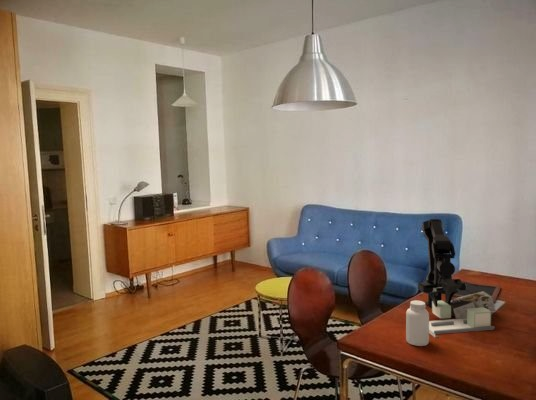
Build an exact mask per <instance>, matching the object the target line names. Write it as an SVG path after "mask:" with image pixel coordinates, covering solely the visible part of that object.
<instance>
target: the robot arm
mask: <svg viewBox="0 0 536 400" xmlns="http://www.w3.org/2000/svg"><path fill="white" fill-rule="evenodd" d="M421 231H422V233H423V236H424V238H425V239H426V241H427V253H428V267H429V268H428V269H429V272H428V274H427V275H426V279H425V280H424V281H422V282H418V284H417V290H419V292H420V291H421V292H422V293H425V294H427V301H424V302H425V304H426V306H428V307H429V308H431V309H432V301H433V303H434V305H435V307H437V301H440V300H442V301H443V299H442V294H443V295H445V296H444V298H445V299H444V300H445V301H444V302H445V303H447V304H449V303H450V301H451V299H453V298H454V297H453V295H454V294H455V293H457V292H459V291H457V288H458V289H459V290H466V284H465V283H464V282H465V281H463V282H462V280H461V279H460V278H453V277H452V275H454V273H455V271H456V267H455V264H454V263H452V262H451V259H455V256H456V250H455V246H454V244H453V242H452V241H451V239H450V237H448V236H446V235H445V232H444V230H443V221H442V220H441V219H440V218H430V219H428V220H425V221H423V222H422V224H421Z"/></svg>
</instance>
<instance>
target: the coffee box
mask: <svg viewBox="0 0 536 400" xmlns="http://www.w3.org/2000/svg"><path fill="white" fill-rule="evenodd" d="M449 305H450V306H451V316H453V317H454V319H463V318H467V309H468V308H481V307H484V308H486V309H488V310H490V311H491V313H492V312H496V308H495V307H496V306H495V303H493V299H492V296H490V295H488V294H487V293H485V292H478V293H474V294H470V295H466V296H462V297H458V298H455V297H453V298H452V299H451V301H450V303H449Z"/></svg>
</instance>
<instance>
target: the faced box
mask: <svg viewBox="0 0 536 400" xmlns="http://www.w3.org/2000/svg"><path fill="white" fill-rule="evenodd" d="M491 324H492V312H491V311H490V310H488V309H486V308H484V307H481V308H468V309H467V325H468V326H470V327H471V328H473V327H485V326H492V325H491Z"/></svg>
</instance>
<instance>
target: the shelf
mask: <svg viewBox="0 0 536 400" xmlns="http://www.w3.org/2000/svg"><path fill="white" fill-rule="evenodd" d="M495 328H496V327H495V326H494V325H491V326H485V327H473V328H471V327H470V326H468V325H467V318H463V319H456V318H452V319H451V318H449V319H439V320H429V335H431V336H432V337H433V338H434V339H438V338H440V337H439V336H438V335H441V334H452V333H454V334H455V333H466V332H478V331H489V330H491V331H492V330H495Z"/></svg>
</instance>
